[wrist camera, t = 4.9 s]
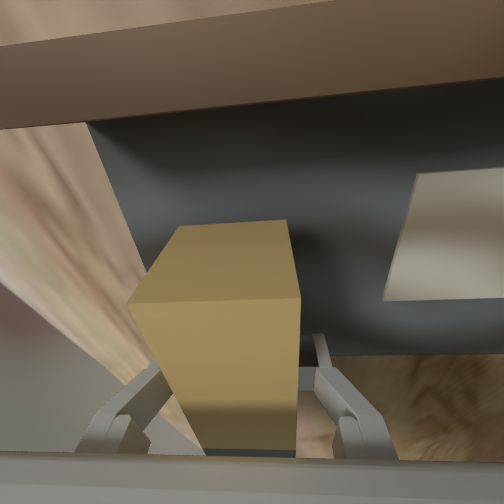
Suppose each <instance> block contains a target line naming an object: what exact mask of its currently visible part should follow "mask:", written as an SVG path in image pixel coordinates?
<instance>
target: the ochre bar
mask: <svg viewBox="0 0 504 504" xmlns="http://www.w3.org/2000/svg"><path fill="white" fill-rule="evenodd" d="M126 305H127V307H128V309H129V310H130V312H131V314H132V316H133V318H134V320H135V322H136V324H137V326H138V327H139V329H140V331H141V333H142V335H143V337H144V339H145V341H146V343H147V344H148V346H149V348H150V350H151V352H152V354H153V356H154V358H155V360H156V361H157V363H158V365H159V367H160V369H161V371H162V373H163V375H164V377H165V379H166V380H167V382H168V384H169V386H170V388H171V390H172V392H173V394H174V396H175V397H176V399H177V401H178V403H179V405H180V407H181V409H182V411H183V413H184V414H185V416H186V418H187V420H188V422H189V424H190V426H191V428H192V430H193V431H194V433H195V435H196V437H197V439H198V441H199V443H200V445H201V447H202V449H203V450H204V452H205V454H206V456H241V457H284V458H295V455H296V427H297V398H298V370H299V342H300V313H301V295H300V290H299V285H298V279H297V274H296V269H295V263H294V258H293V253H292V248H291V242H290V237H289V232H288V226H287V221H286V220H270V221H254V222H238V223H221V224H205V225H189V226H179V227H178V228H177V230H176V231H175V233H174V234H173V236H172V237H171V239H170V240H169V241H168V243H167V244H166V246H165V247H164V249H163V250H162V252H161V253H160V255H159V256H158V258H157V259H156V261H155V262H154V263H153V265H152V266H151V268H150V269H149V271H148V272H147V274H146V275H145V277H144V278H143V280H142V281H141V283H140V284H139V285H138V287H137V288H136V290H135V291H134V293H133V294H132V296H131V297H130V299H129V300H128V302H127V303H126Z"/></svg>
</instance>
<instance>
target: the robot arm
mask: <svg viewBox="0 0 504 504" xmlns="http://www.w3.org/2000/svg"><path fill="white" fill-rule="evenodd" d="M298 390H304V391H313V392H314V394H315V395H316V396H317V398H318V399H319V401H320V402H321V404H322V405H323V407H324V408H325V409H326V411H327V412H328V414H329V415H330V417H331V418H332V420H333V421H334V422H335V424H336V425H337V428H336V432H335V436H334V440H333V444H332V449H333V454H334V459H326V458H284V457H241V456H198V455H197V456H194V455H157V454H156V455H154V454H147V453H148V450H149V447H150V443H151V442H150V440H149V438H148V437H147V436H146V435H145V433H144V432H143V430H144V429H145V428H146V427H147V425H148V424H149V423H150V422H151V420H152V419H153V418H154V417H155V415H156V414H157V413H158V412H159V410H160V409H161V408H162V406H163V405H164V404H165V403H166V401H167V400H168V399H169V398H170V396H171V395H172V394H173V392H172V390H171V388H170V386H169V384H168V382H167V380H166V379H165V377H164V375H163V373H162V371H161V369H160V367H159V365H158V363H157V361H156V360H155V358H154V356H153V357H152V359H151V361H150V364H149V366H148V368H147V369H144V370H142V371H141V372H140V373H139V374H138V375H137V376H136V377H135V378H134V379H133V380H131V381H130V382H129V383H128V384H127V385H126V386H125V387H124V388H123V389H122V390H121V391H119V392H118V393H117V394H116V395H115V396H114V397H113V398H112V399H111V400H109V401H108V402H107V403H106V404H105V405H104V406H103V407H102V408H101V409H99V410H98V411H97V412H96V413H95V415H94V417H93V419H92V420H91V422H90V424H89V426H88V428H87V430H86V432H85V433H84V435H83V437H82V439H81V441H80V442H79V444H78V446H77V448H76V450H75V452H74V453H69V452H28V451H0V504H504V463H495V462H453V461H410V460H399V459H398V456H397V454H396V451H395V448H394V446H393V443H392V440H391V438H390V435H389V432H388V430H387V427H386V424H385V422H384V419H383V416H382V415H381V414H380V413H379V412H378V411H377V410H376V409H375V408H374V407H373V406H372V405H371V403H370V402H369V401H368V400H367V399H366V398H365V397H364V396H363V395H362V394H361V393H360V392H359V391H358V390H357V389H356V388H355V387H354V386H353V384H352V383H351V382H350V381H349V380H348V379H347V378H346V377H345V376H344V375H343V374H342V373H341V372H340V371H339V370H338V369H337V368H336V367H333V366H332V363H331V359H330V355H329V351H328V347H327V344H326V340H325V336H324V334H323V333H300V342H299V370H298Z"/></svg>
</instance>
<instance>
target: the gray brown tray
mask: <svg viewBox="0 0 504 504" xmlns="http://www.w3.org/2000/svg"><path fill="white" fill-rule="evenodd" d="M81 122H86V124H87V126H88V129H89V131H90V134H91V136H92V139H93V141H94V144H95V146H96V149H97V151H98V153H99V156H100V158H101V161H102V163H103V166H104V168H105V171H106V173H107V176H108V178H109V180H110V183H111V185H112V188H113V190H114V193H115V195H116V198H117V200H118V203H119V205H120V208H121V210H122V212H123V215H124V217H125V220H126V222H127V225H128V227H129V230H130V232H131V235H132V237H133V240H134V242H135V244H136V247H137V249H138V252H139V254H140V257H141V259H142V262H143V264H144V267H145V269H146V271H147V272H148V271H149V269H150V268H151V266H152V265H153V263H154V262H155V261H156V259H157V258H158V256H159V255H160V253H161V252H162V250H163V249H164V247H165V246H166V244H167V243H168V241H169V240H170V239H171V237H172V236H173V234H174V233H175V231H176V230H177V228H178V227H179V226H189V225H205V224H221V223H238V222H254V221H270V220H286V221H287V226H288V232H289V237H290V242H291V248H292V253H293V258H294V263H295V269H296V274H297V279H298V285H299V290H300V295H301V313H300V333H323V334H324V336H325V340H326V344H327V347H328V351H329V355H330V356H363V355H452V354H504V0H334V1H327V2H319V3H312V4H305V5H298V6H290V7H283V8H276V9H269V10H261V11H254V12H247V13H240V14H232V15H225V16H218V17H210V18H203V19H196V20H189V21H181V22H174V23H167V24H160V25H152V26H145V27H138V28H131V29H123V30H116V31H109V32H102V33H94V34H87V35H80V36H73V37H65V38H58V39H51V40H44V41H36V42H29V43H22V44H14V45H7V46H0V130H2V129H13V128H25V127H36V126H47V125H58V124H69V123H81Z"/></svg>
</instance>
